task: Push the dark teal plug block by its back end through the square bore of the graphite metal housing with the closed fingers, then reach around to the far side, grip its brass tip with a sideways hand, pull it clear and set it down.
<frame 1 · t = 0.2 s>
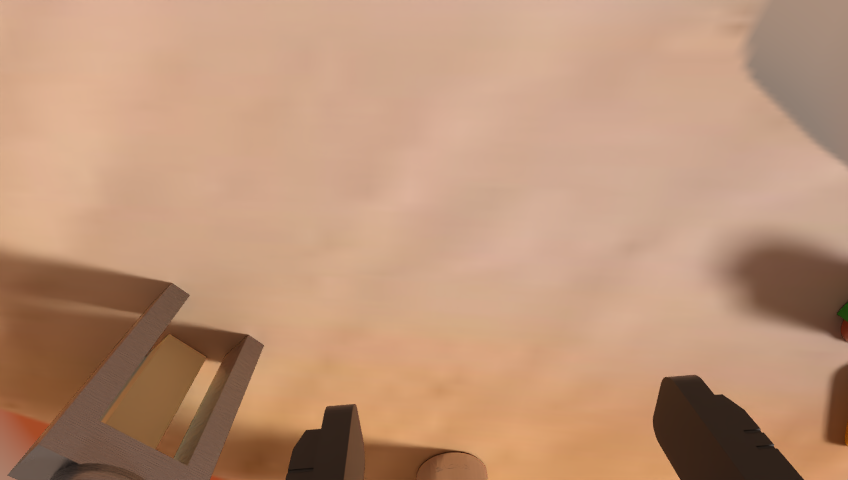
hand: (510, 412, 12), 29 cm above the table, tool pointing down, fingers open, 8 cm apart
plug: (153, 378, 49), on the table
housing: (208, 326, 46), on the table
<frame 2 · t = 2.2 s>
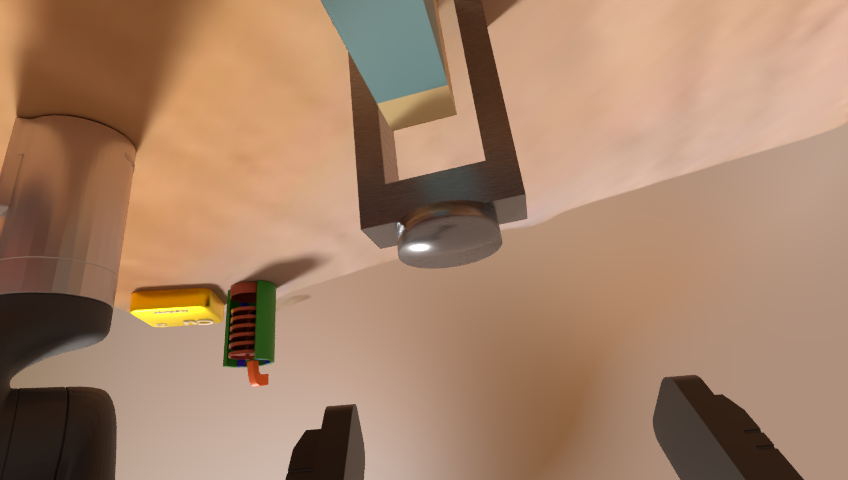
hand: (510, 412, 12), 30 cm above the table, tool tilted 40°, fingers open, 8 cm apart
motor: (253, 286, 95), on the table
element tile: (181, 297, 97), on the table
housing: (417, 30, 38), on the table
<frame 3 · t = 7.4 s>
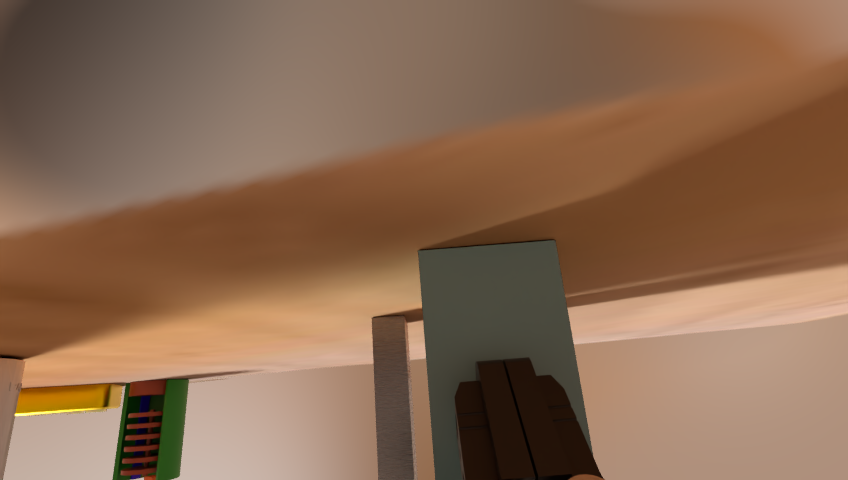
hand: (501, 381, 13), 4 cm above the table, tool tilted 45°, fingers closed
motor: (160, 379, 79), on the table
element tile: (67, 384, 78), on the table
plug: (470, 286, 21), on the table, touching gripper
housing: (458, 315, 30), on the table
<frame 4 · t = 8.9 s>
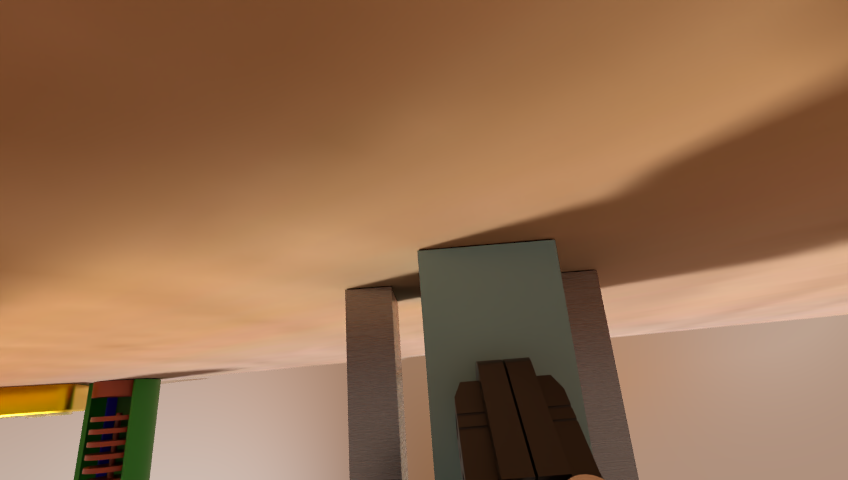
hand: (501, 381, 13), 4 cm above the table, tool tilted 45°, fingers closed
motor: (128, 379, 71), on the table
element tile: (26, 384, 70), on the table
plug: (471, 286, 21), on the table, touching gripper
housing: (467, 289, 21), on the table
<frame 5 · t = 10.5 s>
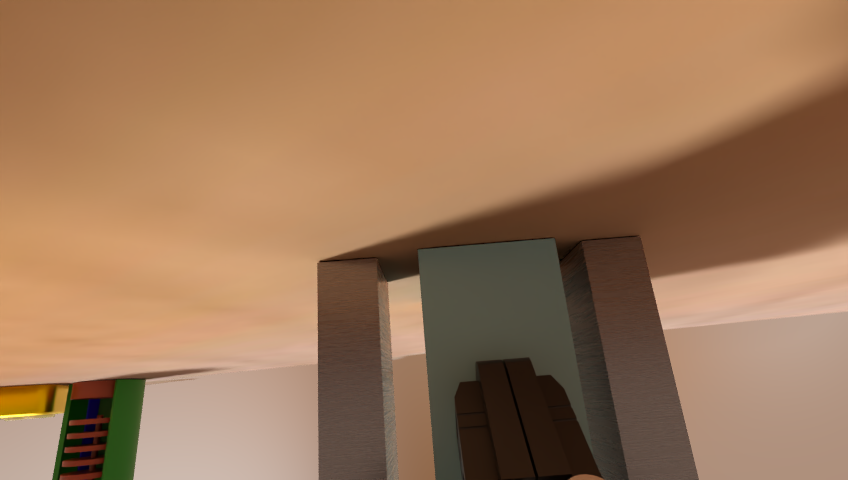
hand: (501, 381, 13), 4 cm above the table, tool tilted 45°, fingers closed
motor: (110, 379, 67), on the table
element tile: (5, 385, 66), on the table
plug: (471, 285, 21), on the table, touching gripper
housing: (473, 264, 17), on the table
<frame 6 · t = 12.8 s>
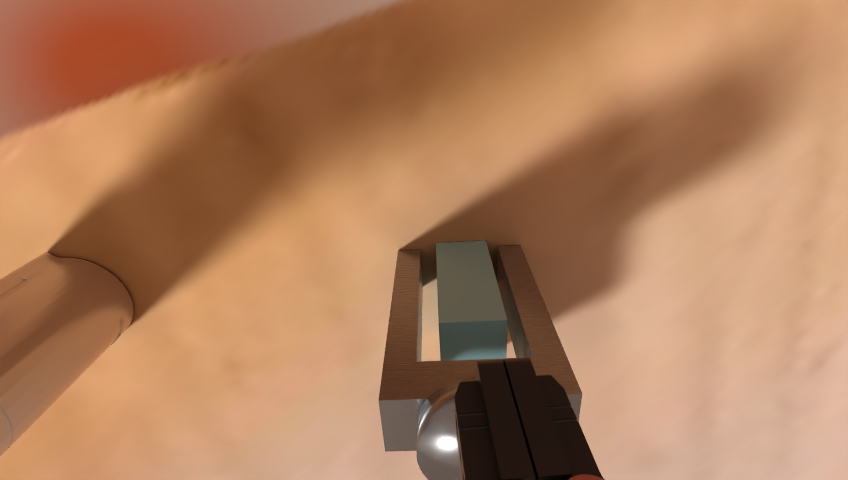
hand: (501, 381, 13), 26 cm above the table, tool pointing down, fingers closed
plug: (462, 302, 43), on the table
housing: (459, 266, 41), on the table
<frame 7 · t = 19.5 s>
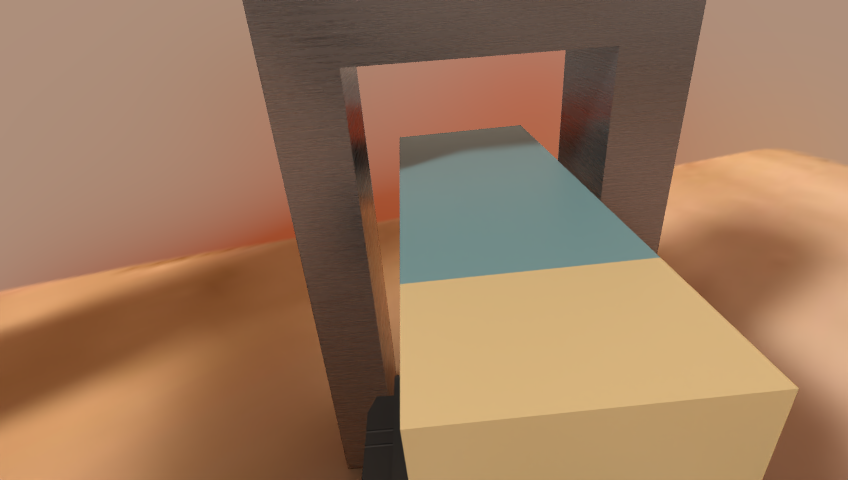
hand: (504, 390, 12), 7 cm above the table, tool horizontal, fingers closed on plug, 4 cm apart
housing: (476, 416, 20), on the table
when the fingers open (7 cm above the table, at t = 22.2 s): plug stays where it is, on the table.
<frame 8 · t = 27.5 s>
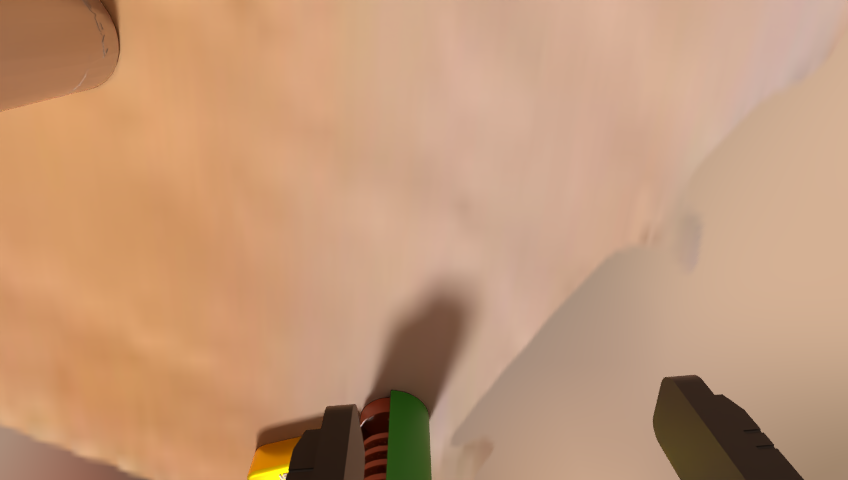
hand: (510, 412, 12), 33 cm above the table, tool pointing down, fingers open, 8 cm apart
motor: (394, 417, 59), on the table
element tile: (323, 467, 63), on the table
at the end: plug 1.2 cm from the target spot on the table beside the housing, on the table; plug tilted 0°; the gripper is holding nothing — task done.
